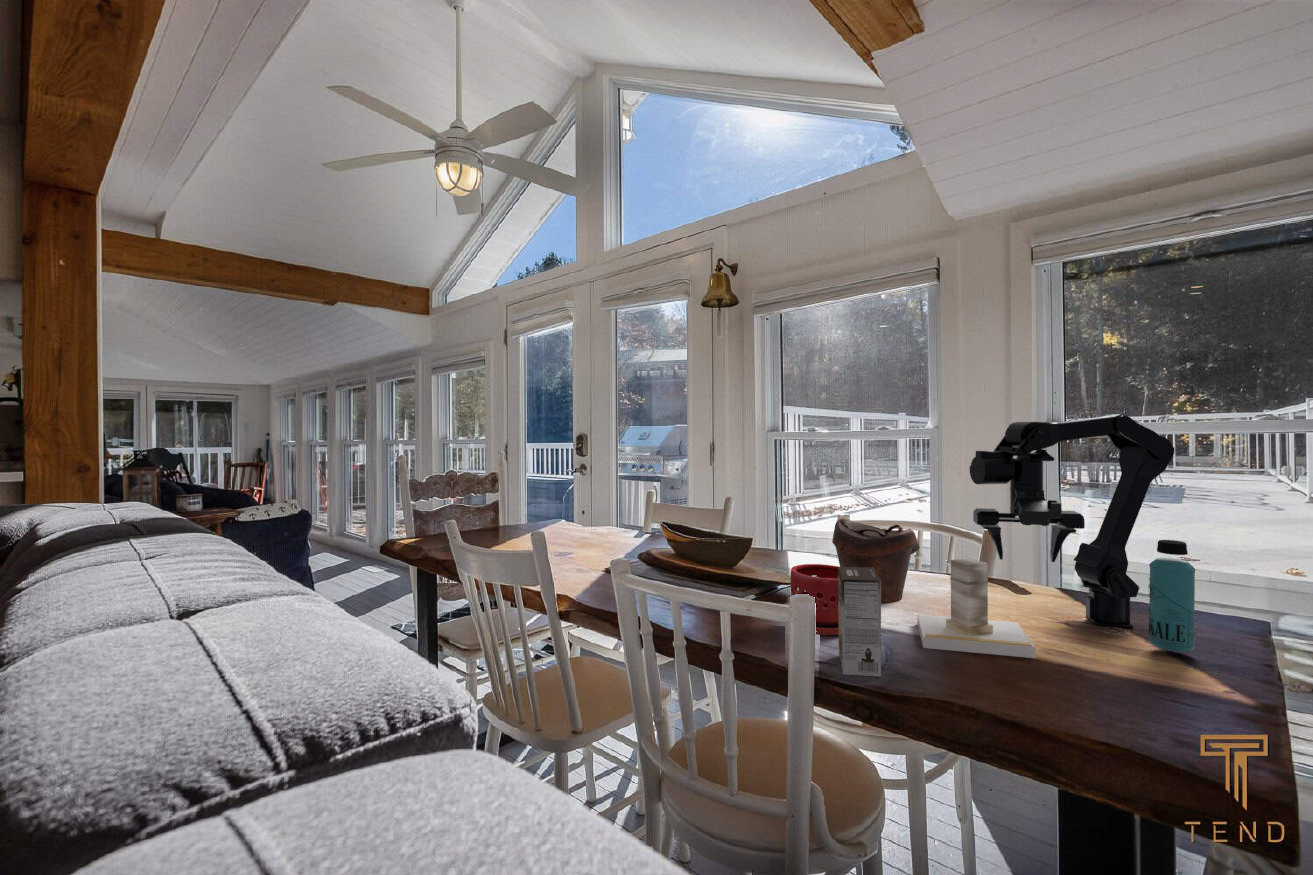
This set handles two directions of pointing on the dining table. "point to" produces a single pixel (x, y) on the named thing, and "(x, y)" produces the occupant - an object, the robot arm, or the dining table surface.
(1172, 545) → the beverage bottle
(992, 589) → the dining table surface
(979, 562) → the white stepped pillar
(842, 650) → the coffee box
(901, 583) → the brown tapered planter
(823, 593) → the plant pot
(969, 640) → the white rectangular slab
